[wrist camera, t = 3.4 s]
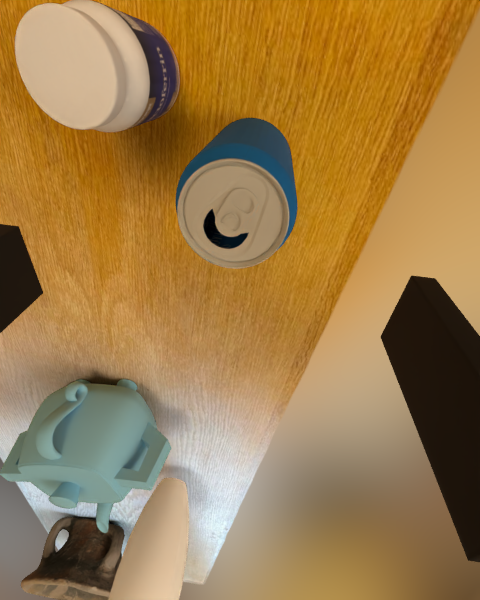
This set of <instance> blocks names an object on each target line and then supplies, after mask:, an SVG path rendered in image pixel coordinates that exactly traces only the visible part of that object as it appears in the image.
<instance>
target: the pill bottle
mask: <svg viewBox="0 0 480 600" xmlns="http://www.w3.org/2000/svg"><path fill="white" fill-rule="evenodd" d="M15 55H16V61H17V66H18V69H19V72H20V75H21V78H22V80H23V82H24V84H25V86H26V88H27V90H28V92H29V94H30V95H31V97H32V98H33V99H34V101H35V102H36V103H37V104H38V105H39V107H40V108H41V109H42V110H43V111H44V112H45V113H46V114H48V115H49V116H50V117H51V118H53V119H54V120H56V121H57V122H59V123H61V124H63V125H65V126H67V127H70V128H73V129H79V130H87V129H94V130H98V131H102V132H118V131H123V130H126V129H129V128H132V127H134V126H137V125H141V124H143V123H146V122H149V121H152V120H155V119H157V118H159V117H161V116H163V115H164V114H166V113H167V112H168V111H169V110H170V109H171V107H172V106H173V104H174V103H175V101H176V98H177V95H178V92H179V84H180V75H179V67H178V63H177V59H176V56H175V54H174V51H173V50H172V48H171V46H170V44H169V43H168V41H167V40H166V38H165V37H164V36H163V35H162V34H161V33H160V32H159V31H158V30H157V29H156V28H154V27H153V26H151V25H150V24H148V23H146V22H144V21H142V20H139V19H137V18H135V17H132V16H130V15H127V14H125V13H123V12H120V11H118V10H115V9H113V8H110V7H108V6H106V5H103V4H101V3H98V2H95V1H90V0H71V1H68V2H65V3H63V4H57V3H45V4H41V5H37V6H35V7H33V8H32V9H30V10H29V11H28V12H26V14H25V15H24V16H23V18H22V19H21V21H20V23H19V25H18V28H17V31H16V36H15Z"/></svg>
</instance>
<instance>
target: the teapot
mask: <svg viewBox="0 0 480 600" xmlns="http://www.w3.org/2000/svg"><path fill="white" fill-rule="evenodd" d="M136 390H137V385H136V384H135V383H134V382H132V381H130V380H127V379H121V380H119V381H118V383H117V386H115V385H107V384H91V383H90V382H88V381H86V380H82V379H78V380H76V381H75V382H72V383H70V384H69V385H67V387H63V388H61V389H59V390H57V391H55V392H54V393H52V394H51V395H49V396H48V397H47V398H46V399H45V400H44V401H43V403H42V404H41V406H40V407H39V409H38V410H37V412H36V414H35V416H34V418H33V420H32V422H31V424H30V426H29V429H28V431H25V432H23V433H21V434H20V435H19V437H18V439H17V441H16V443H15V444H14V446H13V448H12V450H11V452H10V454H9V456H8V457H7V459H6V461H5V463H4V465H3V467H2V468H1V470H0V475H1V476H3V477H4V478H5V479H6V480H8V481H21V482H31V483H33V484H34V485H35V486H36V487H37V488H39V489H40V490H41V491H43V492H44V493H46V494H47V495H49V496H50V497H49V501H50V502H51V503H52V504H54V505H56V506H58V507H62V508H68V509H70V508H75V507H77V503H78V502H86V503H98V505H97V513H96V524H97V527H98V528H99V530H100V531H102V532H103V533H107V532H108V528H109V516H110V512H111V509H112V506H113V504H114V503H117V502H120V501H122V500H123V499H124V498H125V496H126V495H127V494H128V493H129V492H130V490H131V489H132V488H135V489H143V490H152V488H153V486H154V484H155V482H156V480H157V478H158V475H159V473H160V471H161V469H162V467H163V465H164V463H165V461H166V458H167V456H168V454H169V452H170V450H171V446H170V444H169V442H168V439H167V438H165V437H164V436H163V435H162V434H161V433H160V432H159V431H158V430H157V425H156V421H155V419H154V416H153V414H152V412H151V410H150V408H149V407H148V405H147V403H146V402H145V400H144V399H143V397H142V396H141V395H140V394H139V393H138V392H137V391H136Z"/></svg>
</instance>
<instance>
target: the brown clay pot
mask: <svg viewBox="0 0 480 600" xmlns="http://www.w3.org/2000/svg"><path fill="white" fill-rule="evenodd" d="M62 529H65V530H67V531H68V532H69V537H68V539H67V541H66V543H65V544H64V545H63V547H62V548H61V549H60V550H59V551H58V552H56V551H55V540H56V538H57V536H58V533H59V532H60V531H61V530H62ZM124 536H125V535H124V530H123V528H122V527H120V526H118V525H114V524H110V523H109V528H108V532H107V533H103V532H102V531H100V530H99V528H98V527H97V524H96V520H94V519H85V518H77V517H64V518H62V519H60V520H58V521H57V522H56V523H55V524H54V525H53V527H52V529H51V531H50V533H49V535H48V538H47V540H46V543H45V547H44V550H43V555H42V559H41V563H40V565H39V567H38V568H37V570H35V571H34V572H32V573H31V574H30V575H28V576H27V577H25V578H24V579H23V580H22V582H21V587H22V588H23V590H24V591H25V592H27V593H31V594H36V595H40V596H44V597H51V598H55V599H58V600H108V599H109V596H110V592H111V589H112V585H113V582H114V579H115V575H116V572H117V570H118V567H119V564H120V562H121V559H122V554H121V550H122V544H123V540H124Z"/></svg>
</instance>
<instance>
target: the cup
mask: <svg viewBox="0 0 480 600" xmlns="http://www.w3.org/2000/svg"><path fill="white" fill-rule="evenodd" d="M188 532H189V507H188V495H187V488H186V484H185V483H184V482H183V481H181V480H179V479H176V478H164V479H162V481H161V482H160V483H159V485H158V486H157V487H156V489H155V490H154V492H153V493H152V495H151V497H150V498H149V500H148V501H147V503H146V505H145V506H144V508H143V510H142V512H141V514H140V516H139V518H138V520H137V522H136V524H135V526H134V528H133V530H132V532H131V534H130V537H129V540H128V542H127V545H126V548H125V551H124V553H123V556H122V559H121V562H120V564H119V567H118V570H117V572H116V575H115V579H114V582H113V585H112V589H111V592H110V596H109V599H108V600H179V597H180V592H181V588H182V583H183V576H184V570H185V564H186V557H187V551H188Z"/></svg>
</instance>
